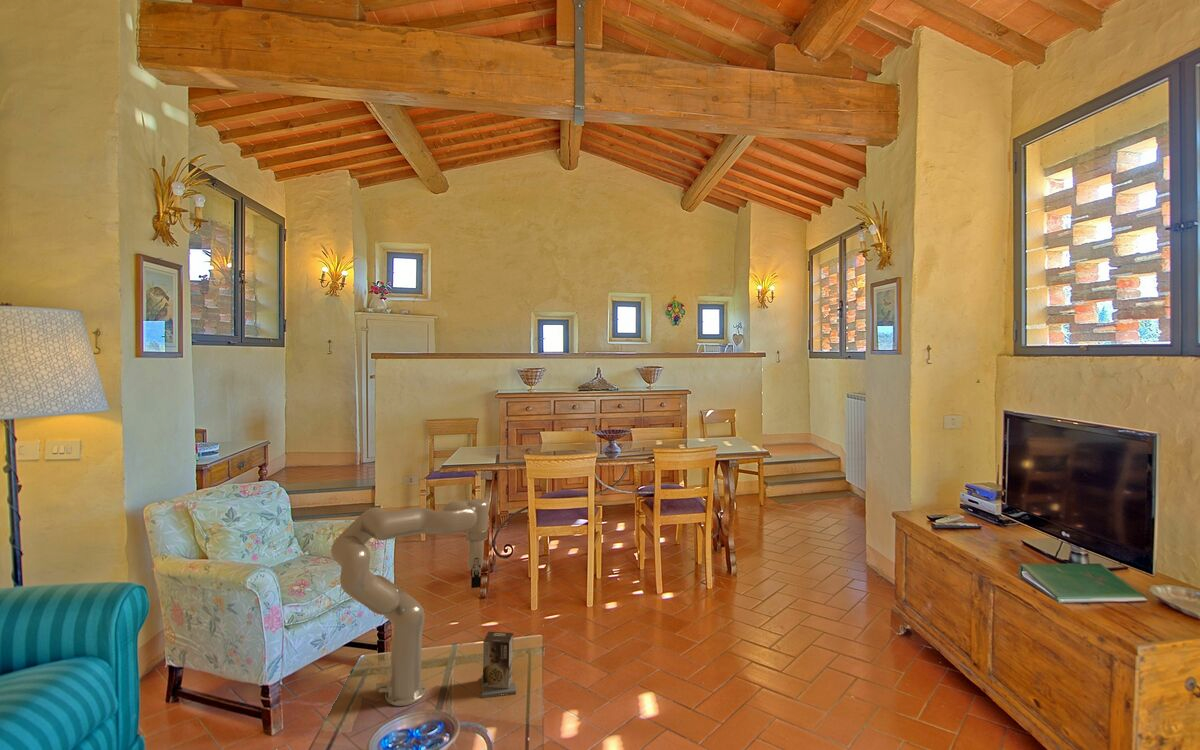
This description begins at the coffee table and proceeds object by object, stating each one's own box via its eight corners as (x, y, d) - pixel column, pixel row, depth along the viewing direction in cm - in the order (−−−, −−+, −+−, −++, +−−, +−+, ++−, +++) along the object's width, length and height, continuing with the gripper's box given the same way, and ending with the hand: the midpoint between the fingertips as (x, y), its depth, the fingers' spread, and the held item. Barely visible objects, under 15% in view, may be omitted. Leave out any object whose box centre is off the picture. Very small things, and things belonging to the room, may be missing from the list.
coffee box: (512, 677, 189) (514, 632, 189) (508, 689, 183) (510, 642, 182) (487, 675, 190) (488, 630, 189) (481, 687, 183) (483, 640, 183)
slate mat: (482, 697, 180) (482, 694, 179) (481, 677, 190) (481, 675, 190) (515, 693, 182) (515, 691, 182) (512, 674, 193) (513, 671, 193)
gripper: (466, 527, 202) (465, 572, 203) (466, 543, 185) (464, 592, 186) (486, 526, 204) (485, 571, 205) (488, 542, 187) (487, 591, 188)
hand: (475, 581), depth 195 cm, fingers open, 9 cm apart
